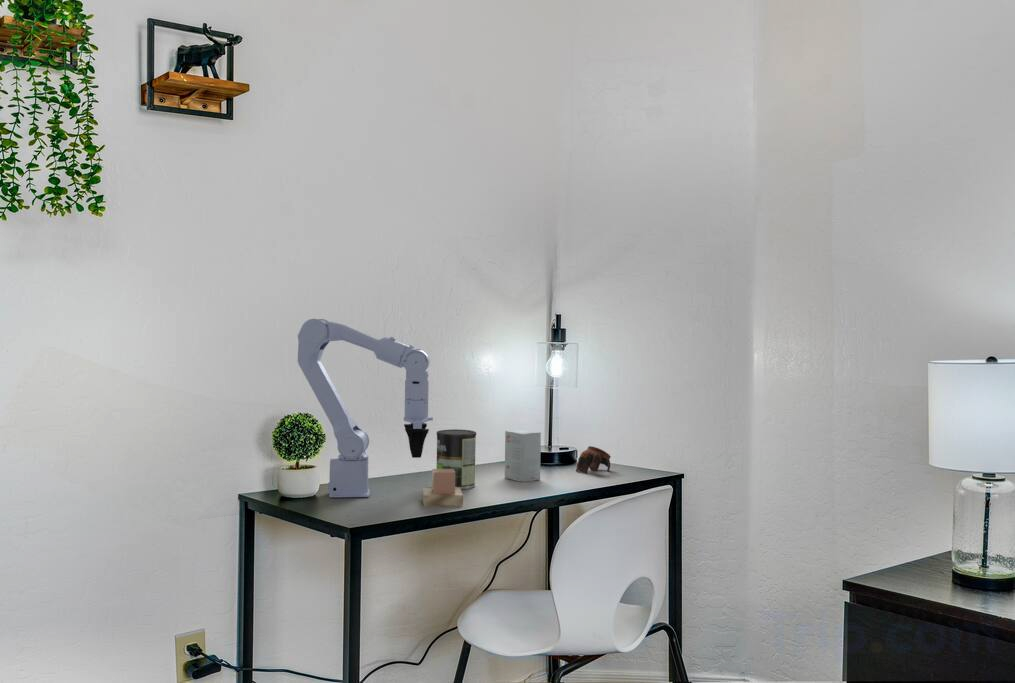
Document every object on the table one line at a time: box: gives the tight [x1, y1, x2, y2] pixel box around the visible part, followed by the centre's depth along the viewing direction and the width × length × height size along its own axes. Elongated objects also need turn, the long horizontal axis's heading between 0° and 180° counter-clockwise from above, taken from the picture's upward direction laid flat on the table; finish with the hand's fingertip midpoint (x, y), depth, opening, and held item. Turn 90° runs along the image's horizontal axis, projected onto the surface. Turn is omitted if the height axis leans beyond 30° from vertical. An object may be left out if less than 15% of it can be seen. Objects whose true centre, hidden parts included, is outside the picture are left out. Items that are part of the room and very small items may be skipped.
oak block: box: [421, 487, 464, 507], centre depth 204 cm, size 9×9×3 cm
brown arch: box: [575, 445, 611, 474], centre depth 250 cm, size 12×10×8 cm
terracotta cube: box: [431, 468, 455, 494], centre depth 204 cm, size 5×5×5 cm
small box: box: [504, 429, 542, 483], centre depth 236 cm, size 8×6×13 cm
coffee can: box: [436, 428, 477, 490], centre depth 225 cm, size 10×10×14 cm
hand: (415, 455), depth 211 cm, fingers open, 7 cm apart
